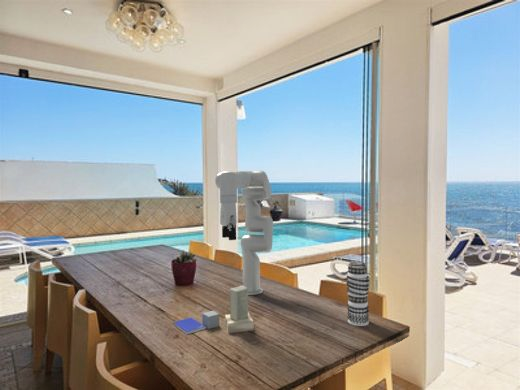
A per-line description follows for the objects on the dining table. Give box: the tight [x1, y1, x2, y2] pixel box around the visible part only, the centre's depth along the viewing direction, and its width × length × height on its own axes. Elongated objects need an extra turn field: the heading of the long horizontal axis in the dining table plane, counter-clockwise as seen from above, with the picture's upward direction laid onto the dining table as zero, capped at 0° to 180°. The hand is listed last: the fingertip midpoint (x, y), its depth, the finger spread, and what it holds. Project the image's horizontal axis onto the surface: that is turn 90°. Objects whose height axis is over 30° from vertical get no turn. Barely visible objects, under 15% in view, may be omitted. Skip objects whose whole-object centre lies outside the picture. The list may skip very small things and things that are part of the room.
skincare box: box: [229, 284, 249, 321], centre depth 129 cm, size 6×4×12 cm
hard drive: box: [173, 317, 207, 335], centre depth 130 cm, size 2×8×12 cm
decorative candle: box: [345, 260, 370, 327], centre depth 132 cm, size 9×9×25 cm
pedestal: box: [224, 312, 255, 334], centre depth 129 cm, size 10×10×4 cm
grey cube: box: [201, 310, 220, 330], centre depth 130 cm, size 5×5×5 cm
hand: (229, 238), depth 140 cm, fingers open, 9 cm apart
